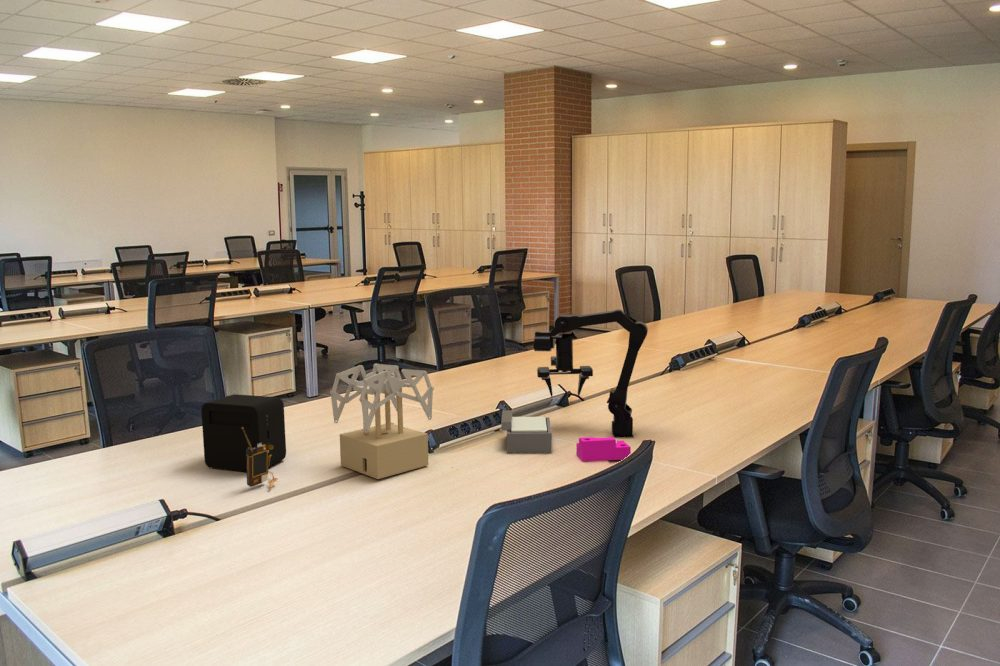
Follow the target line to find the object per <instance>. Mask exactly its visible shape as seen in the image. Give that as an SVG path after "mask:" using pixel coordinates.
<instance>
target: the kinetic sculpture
mask: <svg viewBox="0 0 1000 666" xmlns="http://www.w3.org/2000/svg"><path fill="white" fill-rule="evenodd" d="M372 368H373V369H372V371H371V372H369V373H367V372H366V370H365V368H364V365H362V364H359V365H357V366H353V367H352V368H348V369H346V370H343V371H341V372H337V373H336V374H335V379H334V381H333V384H332V389H331V390H330V391H329V394H330V399H331V407H332V408H331V409H332V413H333V422H334V424H338V422H339V420H340V417H341V415H342V413H343V410H344V408H345V405H346V404H349V403H350V402H351V401H352V400H354V399H356V398H357V397H359V396H360V397H359V400H358V401H359V402H360V403H361V410H362V411H361V412H362V422H363V424H362V425H363V428H362V429H361V428H360V429H357V430H353V431H348V432H347V431H346V432H343V433H339V452H340V454H339V455H340V466H341V467H344V468H347V469H349V470H352V471H355V472H357V473H360V474H363V475H366V476H368V477H371V478H373V479H376V480H379V479H384V478H387V477H391V476H394V475H397V474H398V475H399V474H402V473H406V472H409V471H413V470H416V469H420V468H423V467H427V466H429V434H428V433H426V432H423V431H420V430H416V429H412V428H409V427H406V426H405V427H404V416H403V415H404V414H403V413H404V411H403V410H404V409H403V398H404V399H406V400H409V401H410V400H411V401H414V402H417V403H420V405H421V407H422V410H423V412H424V413H425V416H426V417H427V419H428V421H431V420H432V418H433V417H432V416H433V395H434V394H433V393H434V392H433V391H435V388H434V387H433V386H432V384H431V381H430V378H429V375H428V372H427V371H426V370H419V369H409V368H408V369H407V368H402V369H401V371H399V365H394V364H383V363H374V364H373V367H372ZM400 372H401V373H402V375H403V376H404V378H405V379H402V376H401V373H400ZM360 373H361V376H362V378H363V380H357V379H358V377H359V375H360ZM350 375H352V376H351V378H350V377H349V376H350ZM412 376H415V378H414V379H413V378H412ZM423 378H424V381H425V383H426V387H427V390H426V391H425V392H424V393H423V395H421V394H420V392H419V390H418V387H417V385H418V384H419V382H420V381H421V380H422V379H423ZM340 380H341V381H342V382H344V383H345V384H347V385H348V386H347V389H346V391H345V394H344V396H342V395H341V394H340V393H338V392H337V388H338V386H339V382H340ZM352 388H353V391H355V392H354V393H353V394H351V392H352ZM403 388H412V390H413V393H414V395H415V396H414V395H411V394H409V393H408V394H407V393H406V392H405V393H404V392H403ZM350 394H351V395H350ZM381 394H384V398H383V399H381ZM369 395H372V396H373V395H374V396H373V397H374V399H373V401H372V402H370V401H369V397H368V396H369ZM426 400H427V403H426ZM338 402H340V403H339V405H338ZM391 403H392V405H393V407H394V409H395V411H396V412H397V424H395V423H394V422H391V417H392V416H391ZM383 405H384V412H385V415H384V416H385V419H384V420H385V422H384V424H381V423H382V421H381V419H382V418H381V417H382V416H381V407H382V406H383ZM369 411H370V412H369ZM374 419H375V421H374ZM373 421H374V422H375V423H374V424H375V425H374V426H371V425H372V422H373Z"/></svg>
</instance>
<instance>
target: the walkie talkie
mask: <svg viewBox="0 0 1000 666" xmlns="http://www.w3.org/2000/svg"><path fill="white" fill-rule="evenodd" d="M242 429H243V431H244V427H242ZM244 433H245V431H244ZM245 437H246V439H247V442H248V444H249V446H250V448H249V447H248V448H247V449H246V456H247V472H246V485H247V486H248V487H250V488H251V487H254V486H258V485H260V484H262V483H264V482H267V481H268V484H269V487H268V489H270V488H272V487H273V486H274V483H276V482H277V481H278V477H275V475H274V473H273V472H272V471H270V470H269V467H270V466H269V464H270V458H271V456H272V455H269V456H268V453H269V450H268V448H269V449H270V450H272V449H273V448H274V447H273V445H266V444H262V443H259V444H257V446H256V447H254V446H253V447H252V446H251V444H250V442H249V440H248V437H247V435H246V434H245ZM268 474H271V476H272V479H271V480H268V477H269V475H268Z"/></svg>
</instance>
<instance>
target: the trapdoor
mask: <svg viewBox="0 0 1000 666" xmlns="http://www.w3.org/2000/svg"><path fill="white" fill-rule="evenodd" d="M501 414H502V415H501V422H500V424H501V425H500V428H501V430H500V431H504V432H505V431H506V432H507V431H511V432H547V426H546V418H545V417H546V416H513V410H510V409H509V410H504V409H503V410H502V412H501Z"/></svg>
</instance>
